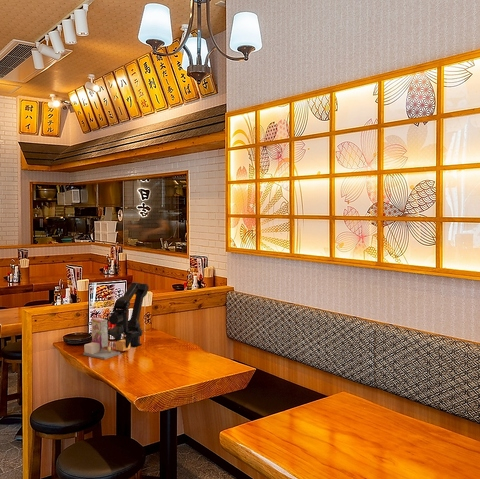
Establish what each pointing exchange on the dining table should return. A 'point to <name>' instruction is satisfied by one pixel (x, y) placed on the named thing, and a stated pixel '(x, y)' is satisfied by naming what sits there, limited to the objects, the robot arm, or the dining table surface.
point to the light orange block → (121, 345)
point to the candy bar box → (100, 331)
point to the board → (99, 351)
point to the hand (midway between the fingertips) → (122, 347)
